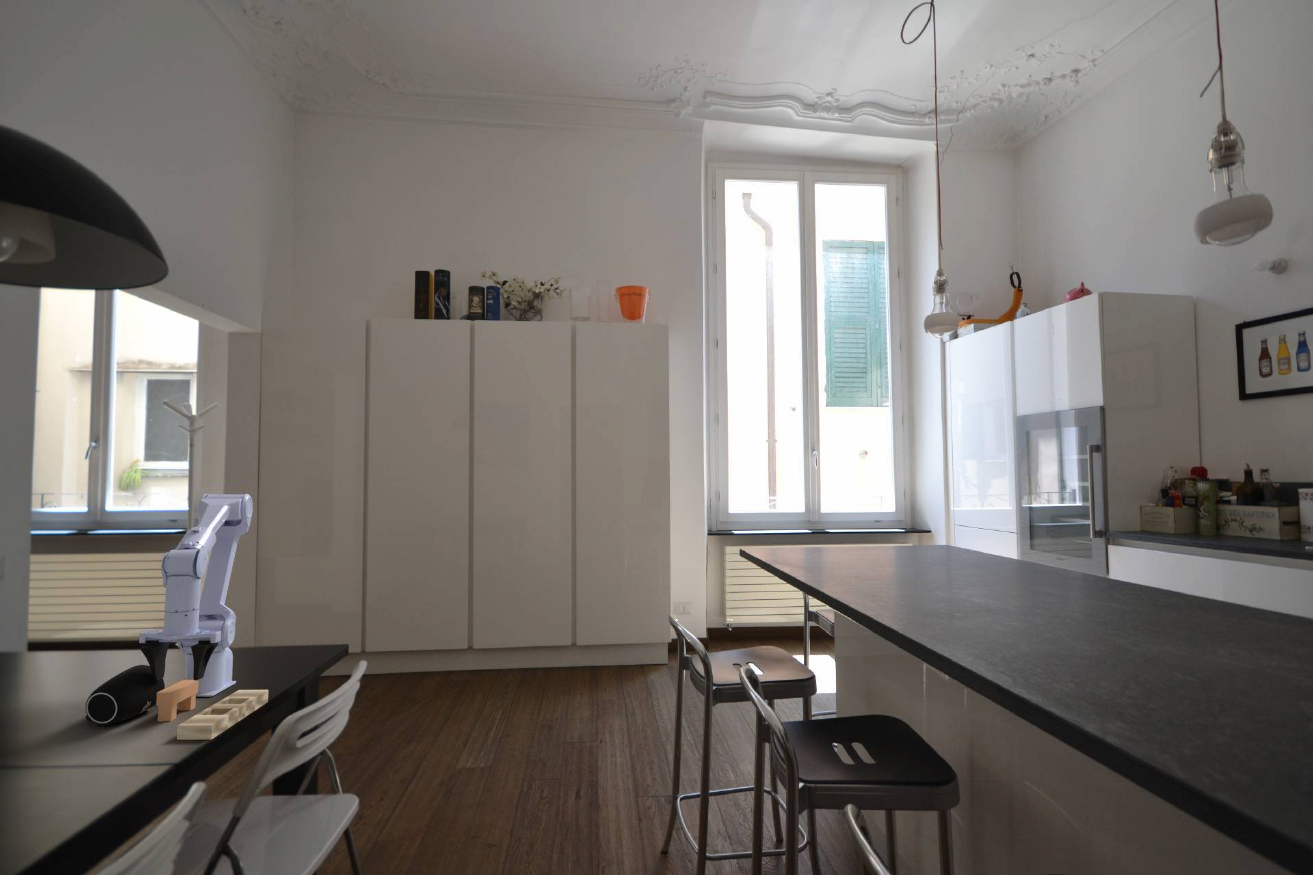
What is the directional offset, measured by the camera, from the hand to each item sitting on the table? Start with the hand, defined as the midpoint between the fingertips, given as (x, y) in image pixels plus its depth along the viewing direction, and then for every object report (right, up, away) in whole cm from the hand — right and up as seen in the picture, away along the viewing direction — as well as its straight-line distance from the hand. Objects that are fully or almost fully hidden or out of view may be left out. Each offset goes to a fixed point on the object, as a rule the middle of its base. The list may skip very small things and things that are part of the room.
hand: (178, 679), depth 135 cm
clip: (0, -7, 0) cm, 7 cm away
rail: (+11, -7, -3) cm, 13 cm away
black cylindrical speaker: (-10, -3, -9) cm, 13 cm away
